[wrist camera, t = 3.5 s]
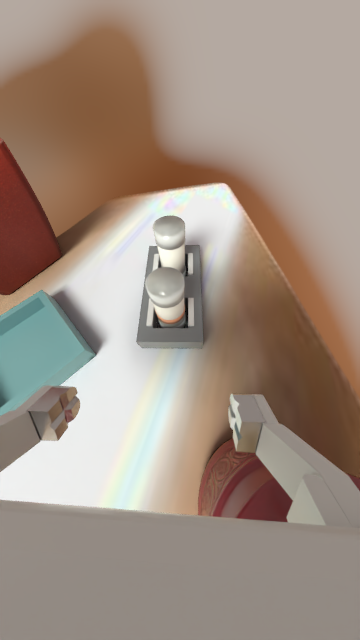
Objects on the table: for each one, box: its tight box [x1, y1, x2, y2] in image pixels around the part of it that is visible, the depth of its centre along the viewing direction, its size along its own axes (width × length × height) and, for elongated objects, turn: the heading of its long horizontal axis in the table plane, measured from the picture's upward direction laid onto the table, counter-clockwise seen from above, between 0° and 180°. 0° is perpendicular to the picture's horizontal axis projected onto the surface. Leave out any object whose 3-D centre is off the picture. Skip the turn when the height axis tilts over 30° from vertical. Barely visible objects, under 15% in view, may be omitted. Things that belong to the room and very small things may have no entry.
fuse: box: [153, 216, 186, 277], centre depth 26 cm, size 4×4×10 cm
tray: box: [0, 290, 96, 416], centre depth 24 cm, size 14×14×3 cm
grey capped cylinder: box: [145, 267, 186, 328], centre depth 22 cm, size 4×4×10 cm
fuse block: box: [136, 245, 203, 348], centre depth 27 cm, size 18×9×3 cm, turn 179°
